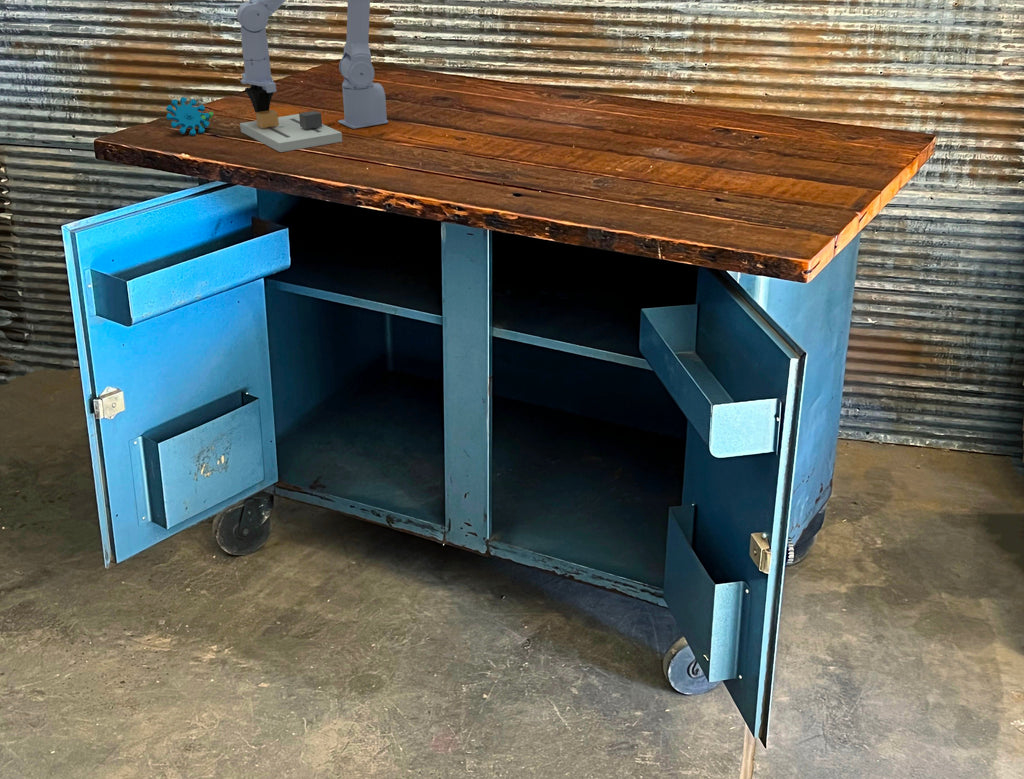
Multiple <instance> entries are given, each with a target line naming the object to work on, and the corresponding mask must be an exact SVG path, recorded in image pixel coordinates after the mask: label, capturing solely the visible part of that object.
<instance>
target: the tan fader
mask: <svg viewBox="0 0 1024 779" xmlns="http://www.w3.org/2000/svg"><path fill="white" fill-rule="evenodd" d="M278 117H279V114H278V112H277V111H276V110H273V109H269V110H267V111H261V112H256V113H255V119H256V120H255V121H257V126H259V127H261V128H266V127H272V126H278V125H279V123H278Z"/></svg>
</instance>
